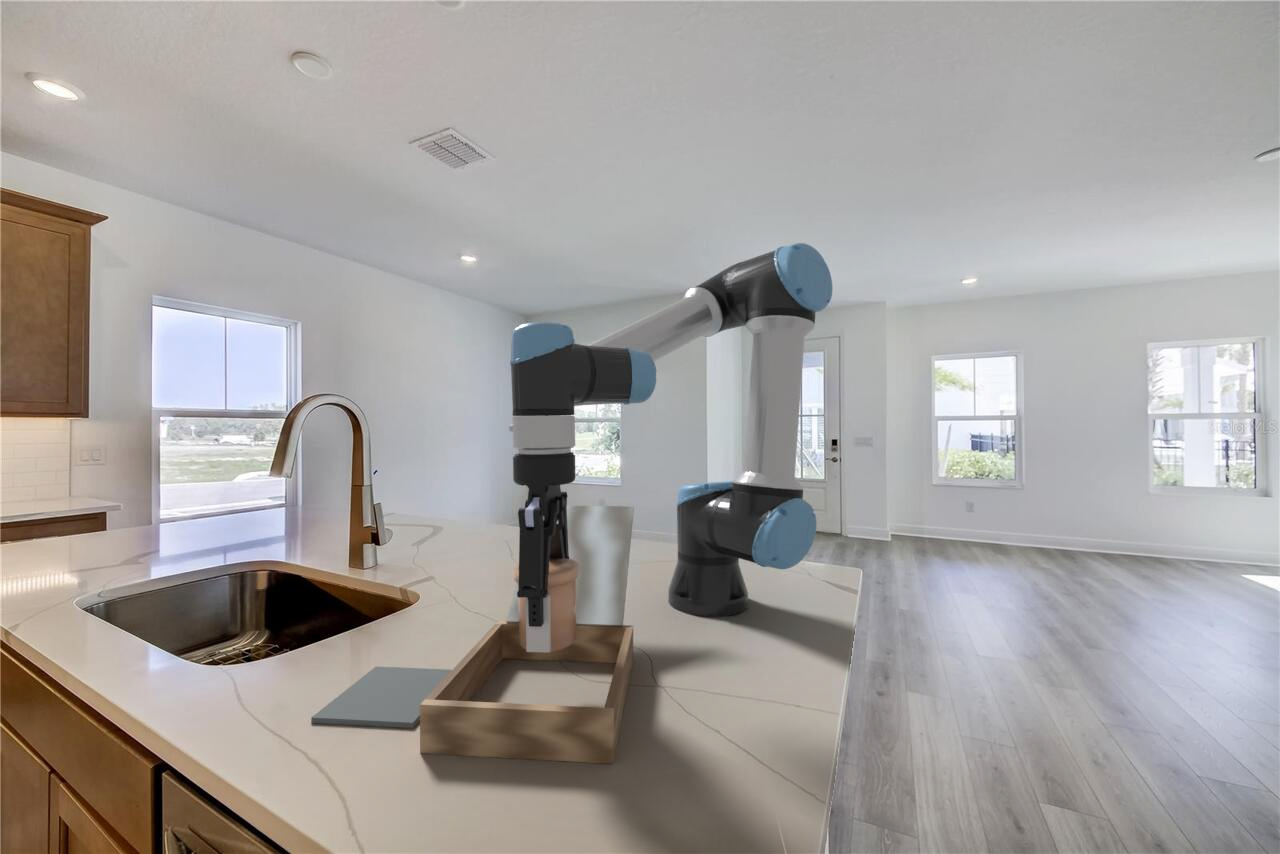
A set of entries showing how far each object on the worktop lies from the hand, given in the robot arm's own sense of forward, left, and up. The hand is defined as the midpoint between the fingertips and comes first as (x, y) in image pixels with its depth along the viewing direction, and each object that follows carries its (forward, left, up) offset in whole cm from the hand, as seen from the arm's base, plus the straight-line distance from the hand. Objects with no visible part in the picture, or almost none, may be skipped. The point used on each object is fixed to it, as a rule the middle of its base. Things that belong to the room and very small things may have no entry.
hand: (547, 636), depth 62 cm
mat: (+19, +1, -8) cm, 21 cm away
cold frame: (0, -8, -8) cm, 11 cm away
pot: (0, 0, 0) cm, 0 cm away
